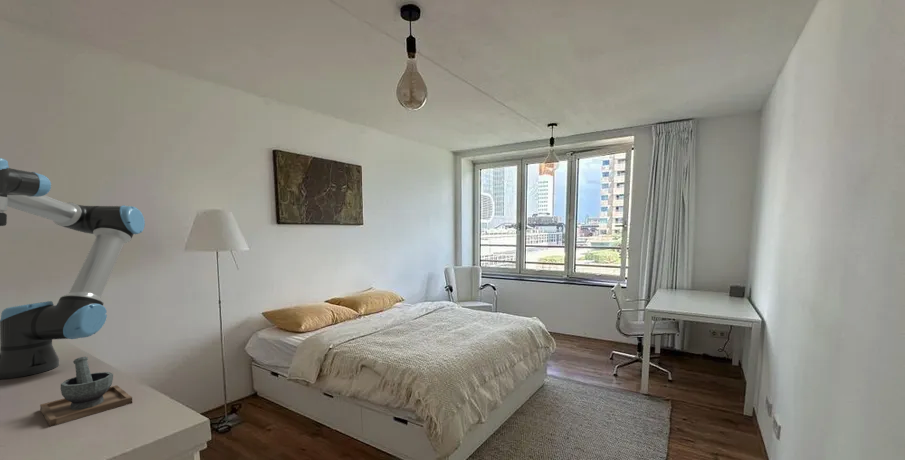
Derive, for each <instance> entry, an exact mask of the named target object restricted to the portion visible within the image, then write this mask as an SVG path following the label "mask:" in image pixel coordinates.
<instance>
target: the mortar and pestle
mask: <svg viewBox="0 0 905 460" xmlns="http://www.w3.org/2000/svg"><path fill="white" fill-rule="evenodd" d="M88 360H89V358H88V356H80V357H77V358H75V359H74V360H73V361H72V363H73V364H74V366H75V377H71V378H69V379H66V380H64V381H62V382H61V383H60V393H61V395H62V397H63V399H64V398H65V399H66V400H68V401H70V402H72V403H71V406H70V409H72V410H81V409H86V408H90V407H93V406H96V405H99V404H101V403H102V402H103V401H104V398H103V394H105V393H106V392H107V391H108V390H109V388H110V387H112V386H113V385H112V384H113V380H114V373H113V372H109V371H102V372H100V371H99V372H92V373H91V369H90V366H89V363H88Z"/></svg>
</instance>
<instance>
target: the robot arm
mask: <svg viewBox="0 0 905 460" xmlns="http://www.w3.org/2000/svg"><path fill="white" fill-rule="evenodd" d="M51 188H52V182H51V180H50V179H49V178H48V177H47V176H46V175H44V174H42V173H41V174H40V173H37V172H35V171H27V170H22V169H15V168H10V166H9V161H8V160H7V159H6V158H2V157H0V227H5V226H6V225H7V223H8V221H7V219H8V214H7V213H5V212H7V211H8V208H12V209H15V210H18V211H22V212H25V213H28V214H30V215H34V216H37V217H41V218H44V219H47V220H50V221H53V223H54V225H55V224H56V226H60V227H63V228H65V229H69V230H73V231H77V232H80V233H84V234H90V235H94V236H95V238H94V241H93V242H92V245H91V246H90V249H89V251H88V253H87V255H86V258H85V260H84V262H83V263H82V265H81V268H80V269H79V271H78V274H77V276H76V277H75V280H74V281H73V283H72V286H71V288H70V289H69V292H68V293H66V294H65V295H62V296H60V297H59V300H58V301H57V303H56V304H55V303H54V302H53V301H52V300H50V301H49V300H47V301H41V302H34V303H27V304H22V305H17V306H16V305H15V306H10V307H6V308H5V309H3V310H2V311H1V312H0V313H1V315H0V380H5V379H14V378H21V377H27V376H31V375H37V374H40V373H44V372H48V371H50V370H53V369H56V368H57V367H59V366H60V358H59V356H58V354H57V352H56V350H55V348H54V346H53V340H78V339H85V338H89V337H91V336H93V335H95V334H96V333H98V332H99V331H100V330H101V329H102V328H103V326H104V325H105V323H106V321H107V318H108V315H107V308H106V307H105V306H104V301H103V300H102V298H101V297H102V296H103V293H104V291H105V288H106V286H107V284H108V281H109V279H110V277H111V274H112V273H113V270H114V268H115V266H116V263H117V261H118V259H119V257H120V255H121V254H120V253H121V252H122V249H123V247H124V245H125V244H127V243H130V242H131V241H132V238H133V236H134V235H139V234H141V233H143V231H144V229H145V226H146V223H145V222H146V221H145V217H144V214H143V213H142V211H141V210H140V209H138V208H137V207H136V206H134V205H133V206H132V205H131V206H129V205H84V204H83V205H82V204H77V203H74V202H70V201H69V202H65V201H61V200H59V199H56V198H54V197H50V196H49V195H47V194H48V193H50V191H51V190H52V189H51Z"/></svg>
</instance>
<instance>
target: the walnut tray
mask: <svg viewBox="0 0 905 460" xmlns="http://www.w3.org/2000/svg"><path fill="white" fill-rule="evenodd" d="M103 398H104V401H103V402H102V403H101V404H99V405H96V406H93V407H90V408H86V409H81V410H72V409H70V406H71V403H72V402H70V401H68V400H66V399H65V398H64V397H63V398H62V399H57V400H53V401H48V402H45V403H41V404H40V406H39V409H40V412H41V414H42V416H43V415H44V416H43V417H44V419H45V421H46V423H47V424H48V425H49V427H54V426H57V425H61V424H64V423H67V422H71V421H73V420H78V419H81V418H85V417H88V416H92V415H96V414H98V413H102V412H106V411H109V410H112V409H115V408H116V409H117V408H119V407H122V406H127V405H130V404H133V396H131V395H130V394H129V393H128V392H126V391H125V390H123V389H122V388H121V387H120V386H118V385H111V386H110V388H109V390H108V391H107V392H106V393H105V394H103ZM129 403H130V404H129ZM126 404H127V405H126Z"/></svg>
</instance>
